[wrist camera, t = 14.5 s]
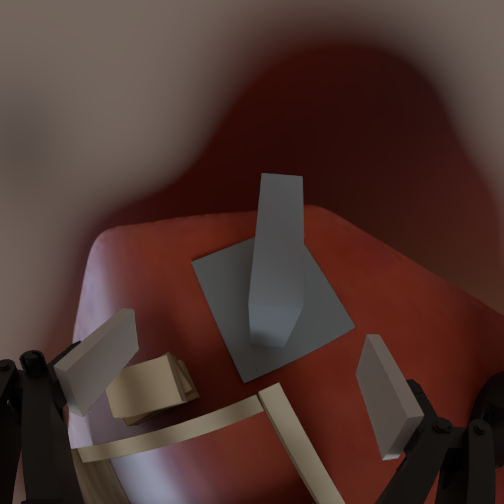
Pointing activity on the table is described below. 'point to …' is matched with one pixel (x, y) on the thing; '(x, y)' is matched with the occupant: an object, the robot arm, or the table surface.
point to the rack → (272, 399)
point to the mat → (237, 310)
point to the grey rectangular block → (277, 261)
